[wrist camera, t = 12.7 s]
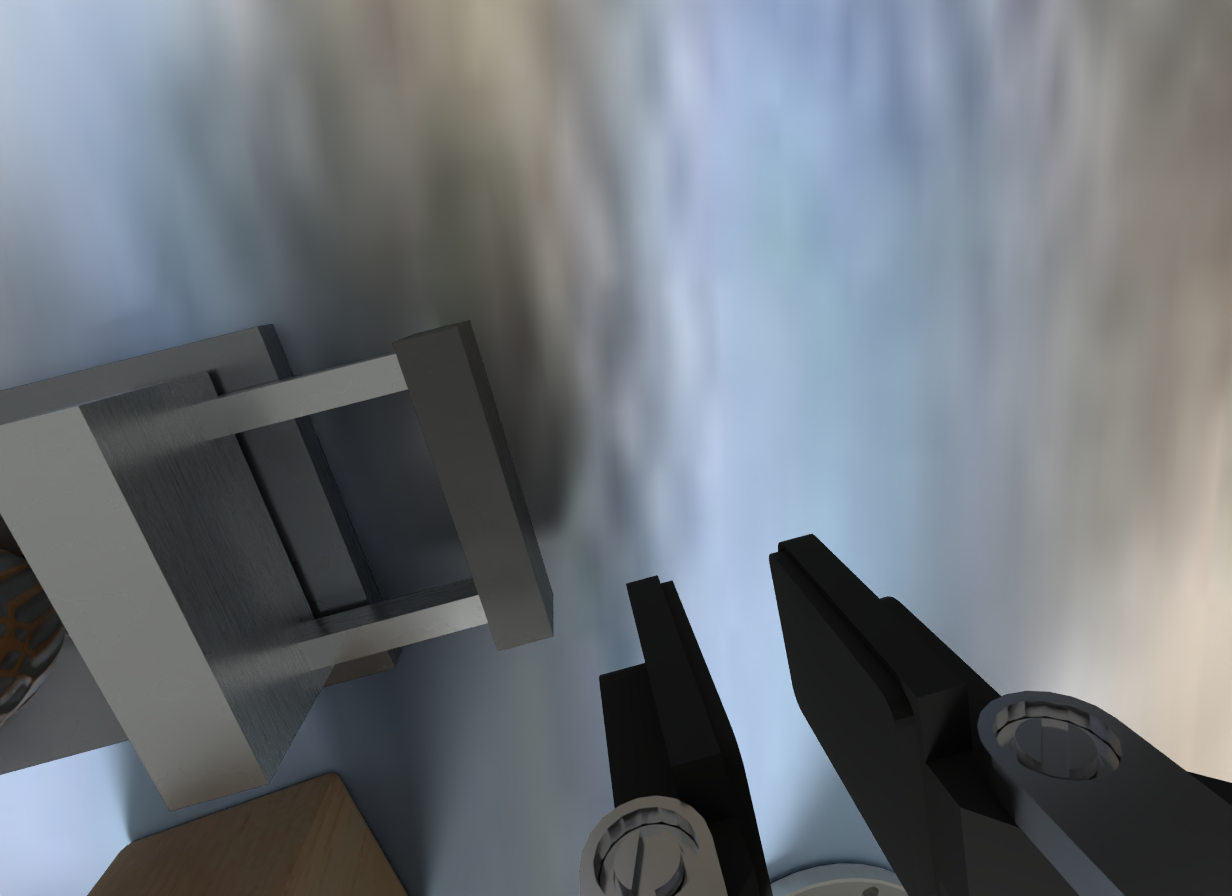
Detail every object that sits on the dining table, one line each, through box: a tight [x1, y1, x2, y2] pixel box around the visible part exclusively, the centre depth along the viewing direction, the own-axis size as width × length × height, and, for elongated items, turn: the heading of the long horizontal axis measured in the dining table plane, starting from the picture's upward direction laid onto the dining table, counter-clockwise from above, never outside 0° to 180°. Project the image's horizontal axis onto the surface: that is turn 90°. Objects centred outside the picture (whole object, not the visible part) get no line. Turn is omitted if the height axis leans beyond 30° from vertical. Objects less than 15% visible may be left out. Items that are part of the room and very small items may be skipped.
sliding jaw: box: [0, 320, 554, 811], centre depth 20 cm, size 12×12×6 cm
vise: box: [0, 324, 402, 775], centre depth 21 cm, size 20×14×7 cm
